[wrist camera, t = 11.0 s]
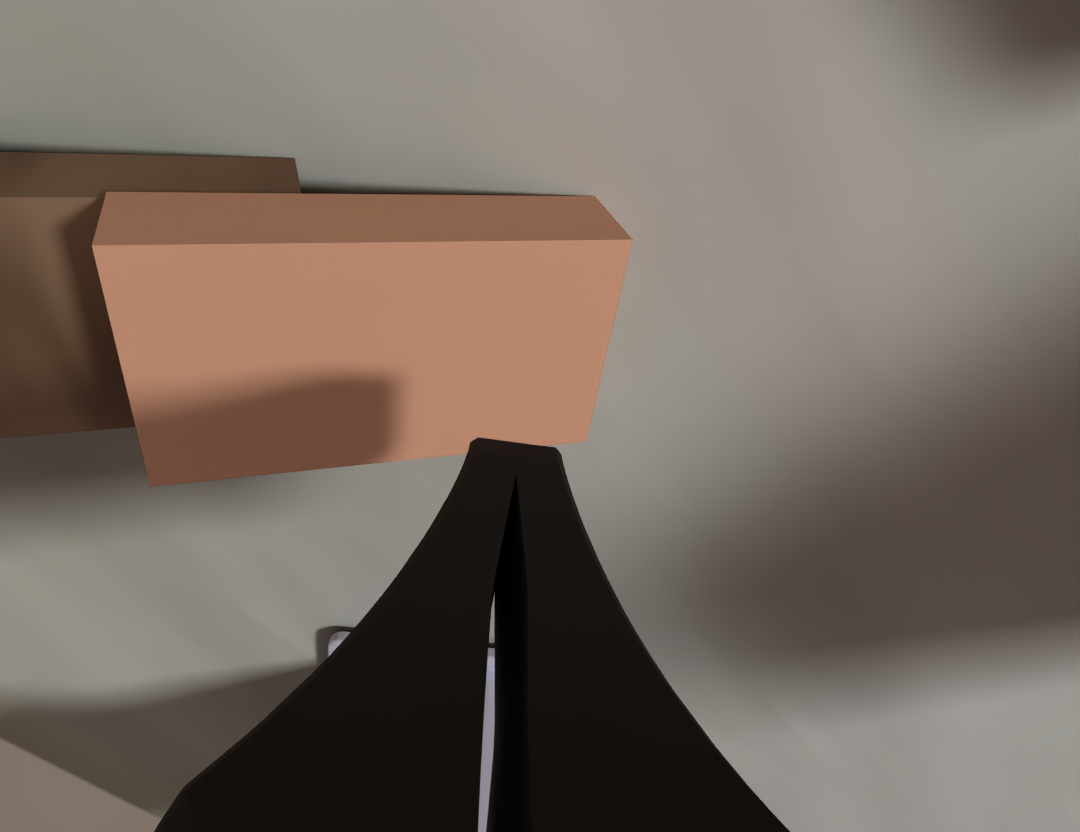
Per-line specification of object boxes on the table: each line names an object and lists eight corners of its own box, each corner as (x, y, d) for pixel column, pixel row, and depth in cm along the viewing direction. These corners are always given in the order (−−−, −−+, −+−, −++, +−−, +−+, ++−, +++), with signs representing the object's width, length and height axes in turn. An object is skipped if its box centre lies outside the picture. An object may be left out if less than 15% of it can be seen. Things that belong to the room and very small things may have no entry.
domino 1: (314, 411, 17) (-189, 453, 14) (307, 361, 18) (-150, 389, 16) (302, 198, 14) (-344, 195, 11) (294, 158, 15) (-278, 146, 12)
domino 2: (586, 441, 17) (149, 486, 14) (558, 389, 19) (156, 421, 16) (632, 239, 14) (92, 245, 11) (594, 196, 16) (106, 191, 13)
